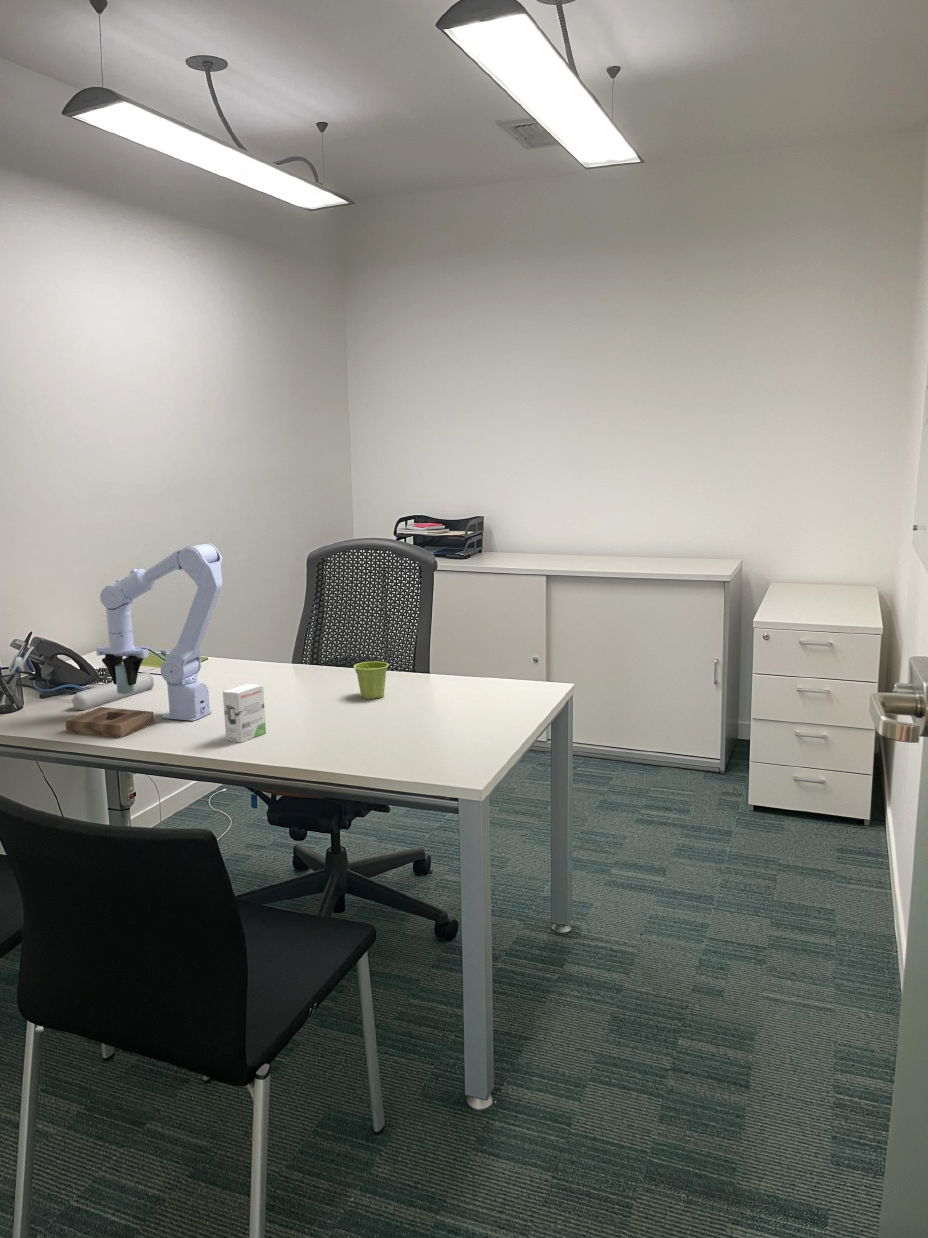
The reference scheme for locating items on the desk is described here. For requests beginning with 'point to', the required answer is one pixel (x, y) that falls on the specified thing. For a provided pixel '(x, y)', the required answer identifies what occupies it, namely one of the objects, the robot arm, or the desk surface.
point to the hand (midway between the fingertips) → (125, 684)
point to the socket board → (109, 722)
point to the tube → (109, 693)
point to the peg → (122, 680)
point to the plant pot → (371, 678)
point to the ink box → (244, 712)
